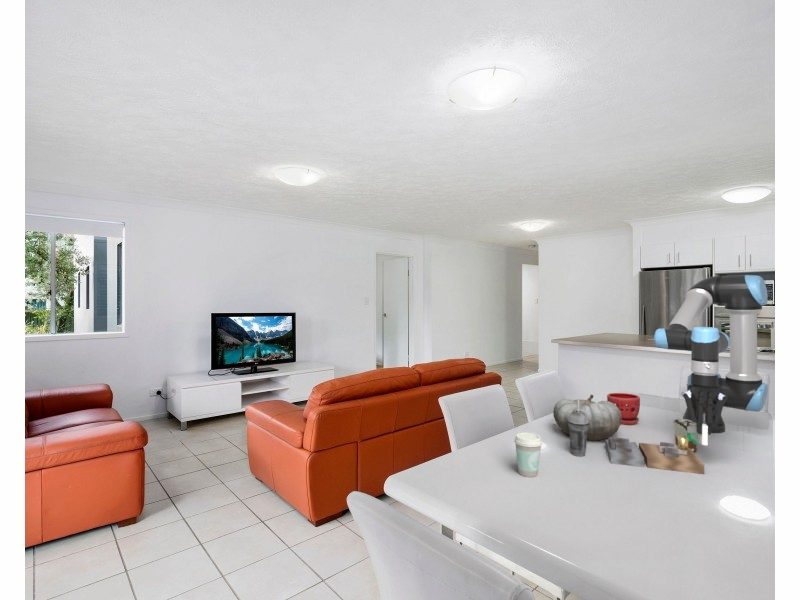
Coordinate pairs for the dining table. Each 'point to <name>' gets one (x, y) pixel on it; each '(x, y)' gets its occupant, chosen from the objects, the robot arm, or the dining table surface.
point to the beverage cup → (578, 432)
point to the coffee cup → (528, 453)
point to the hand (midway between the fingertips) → (703, 443)
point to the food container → (686, 432)
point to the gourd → (590, 416)
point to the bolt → (679, 445)
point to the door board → (652, 456)
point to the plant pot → (629, 411)
